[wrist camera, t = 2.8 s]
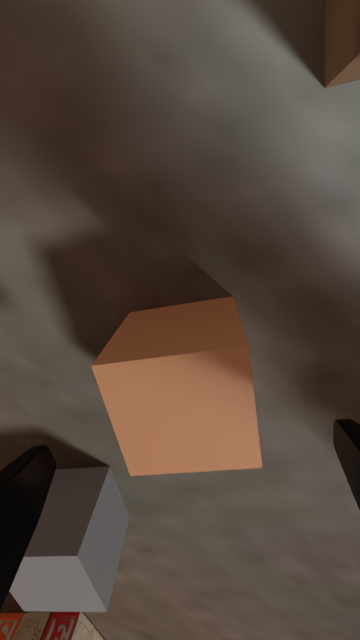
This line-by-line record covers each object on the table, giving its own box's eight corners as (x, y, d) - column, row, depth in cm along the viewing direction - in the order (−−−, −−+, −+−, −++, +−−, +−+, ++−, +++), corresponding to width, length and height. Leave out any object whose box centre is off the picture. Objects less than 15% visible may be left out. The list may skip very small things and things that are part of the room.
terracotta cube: (232, 295, 13) (248, 345, 8) (244, 385, 15) (262, 467, 10) (130, 311, 13) (91, 365, 9) (152, 394, 15) (130, 476, 11)
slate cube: (110, 464, 18) (77, 555, 13) (129, 516, 19) (106, 612, 15) (40, 469, 18) (-15, 557, 14) (65, 518, 20) (23, 611, 16)
